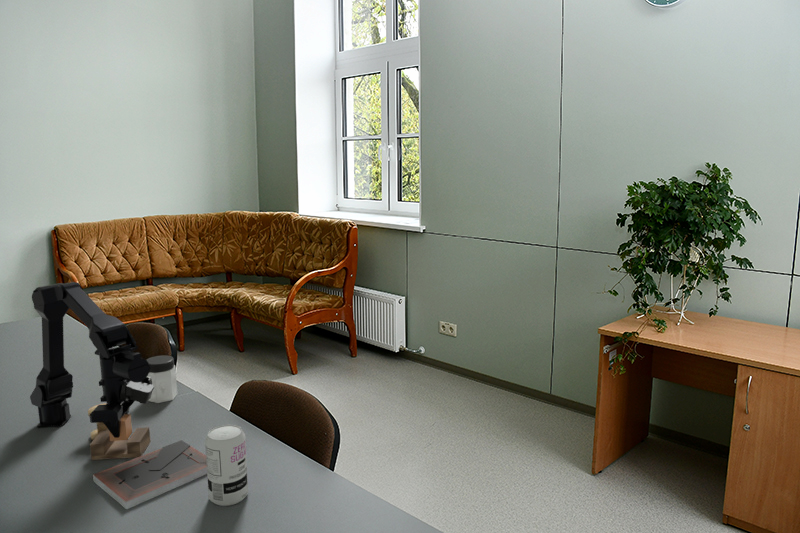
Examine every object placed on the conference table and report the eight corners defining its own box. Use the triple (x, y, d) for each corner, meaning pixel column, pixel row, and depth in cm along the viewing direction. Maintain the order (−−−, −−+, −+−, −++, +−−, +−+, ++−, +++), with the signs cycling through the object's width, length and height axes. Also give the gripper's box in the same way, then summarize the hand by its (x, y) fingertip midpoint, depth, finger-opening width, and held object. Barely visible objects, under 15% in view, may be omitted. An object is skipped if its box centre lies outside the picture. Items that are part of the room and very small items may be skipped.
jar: (149, 405, 178) (146, 366, 175) (143, 396, 184) (140, 358, 182) (180, 398, 183) (178, 360, 180) (174, 389, 189) (171, 353, 187)
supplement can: (213, 487, 135) (209, 424, 132) (251, 485, 135) (247, 422, 132) (205, 508, 127) (200, 442, 124) (245, 506, 127) (241, 440, 124)
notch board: (91, 459, 147) (89, 444, 146) (103, 444, 154) (102, 429, 154) (140, 457, 148) (139, 441, 147) (150, 441, 156) (149, 427, 155)
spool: (86, 442, 155) (83, 415, 154) (96, 430, 162) (94, 403, 161) (114, 440, 156) (112, 413, 155) (124, 428, 163) (121, 402, 162)
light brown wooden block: (110, 440, 148) (108, 421, 147) (115, 433, 152) (113, 414, 151) (127, 440, 149) (125, 421, 148) (132, 432, 153) (130, 414, 152)
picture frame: (182, 448, 153) (93, 483, 137) (181, 439, 153) (92, 473, 137) (218, 471, 142) (126, 511, 127) (217, 461, 142) (125, 500, 126)
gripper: (136, 387, 139) (142, 449, 142) (159, 359, 157) (163, 415, 160) (85, 389, 138) (92, 452, 141) (114, 361, 156) (120, 417, 159)
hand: (120, 433), depth 150 cm, fingers closed on light brown wooden block, 4 cm apart
